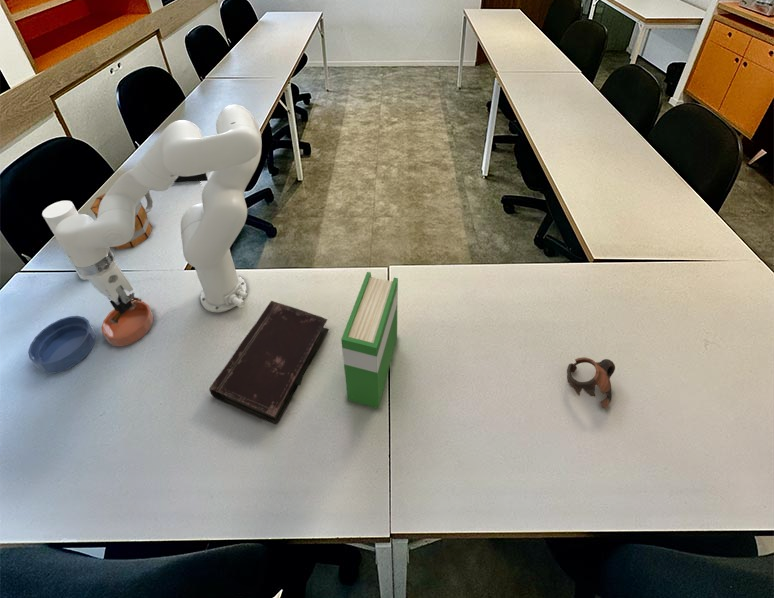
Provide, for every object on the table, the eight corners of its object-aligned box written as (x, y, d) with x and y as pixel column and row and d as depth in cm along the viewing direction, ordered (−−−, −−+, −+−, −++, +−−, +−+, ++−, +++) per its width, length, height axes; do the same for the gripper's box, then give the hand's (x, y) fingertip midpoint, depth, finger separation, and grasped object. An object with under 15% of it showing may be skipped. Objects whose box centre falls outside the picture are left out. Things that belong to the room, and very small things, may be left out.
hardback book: (369, 332, 112) (367, 271, 99) (396, 339, 111) (397, 278, 98) (347, 400, 98) (341, 339, 85) (378, 408, 97) (376, 348, 83)
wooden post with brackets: (145, 297, 115) (133, 293, 111) (125, 326, 111) (112, 322, 108) (141, 295, 115) (129, 290, 112) (120, 323, 112) (108, 319, 108)
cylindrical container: (87, 283, 126) (50, 221, 113) (74, 273, 130) (37, 211, 116) (110, 267, 131) (78, 206, 118) (98, 258, 135) (65, 197, 121)
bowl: (107, 340, 111) (100, 329, 109) (54, 383, 102) (45, 373, 99) (79, 318, 117) (72, 308, 114) (26, 357, 107) (17, 347, 105)
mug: (134, 252, 136) (117, 218, 128) (98, 246, 139) (79, 211, 131) (172, 212, 152) (159, 179, 144) (139, 207, 155) (125, 174, 147)
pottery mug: (599, 421, 95) (587, 395, 92) (566, 396, 103) (554, 372, 101) (632, 383, 98) (621, 358, 96) (597, 362, 107) (586, 338, 105)
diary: (211, 397, 99) (206, 386, 96) (271, 310, 118) (268, 298, 116) (280, 428, 93) (277, 417, 91) (331, 331, 113) (330, 319, 110)
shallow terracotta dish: (162, 319, 116) (158, 312, 114) (122, 353, 108) (118, 346, 106) (136, 301, 121) (133, 294, 119) (97, 333, 113) (92, 326, 111)
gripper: (129, 261, 100) (155, 309, 110) (92, 238, 106) (120, 286, 117) (97, 284, 94) (128, 332, 105) (60, 259, 101) (93, 306, 111)
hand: (124, 307), depth 111 cm, fingers closed on wooden post with brackets, 1 cm apart
